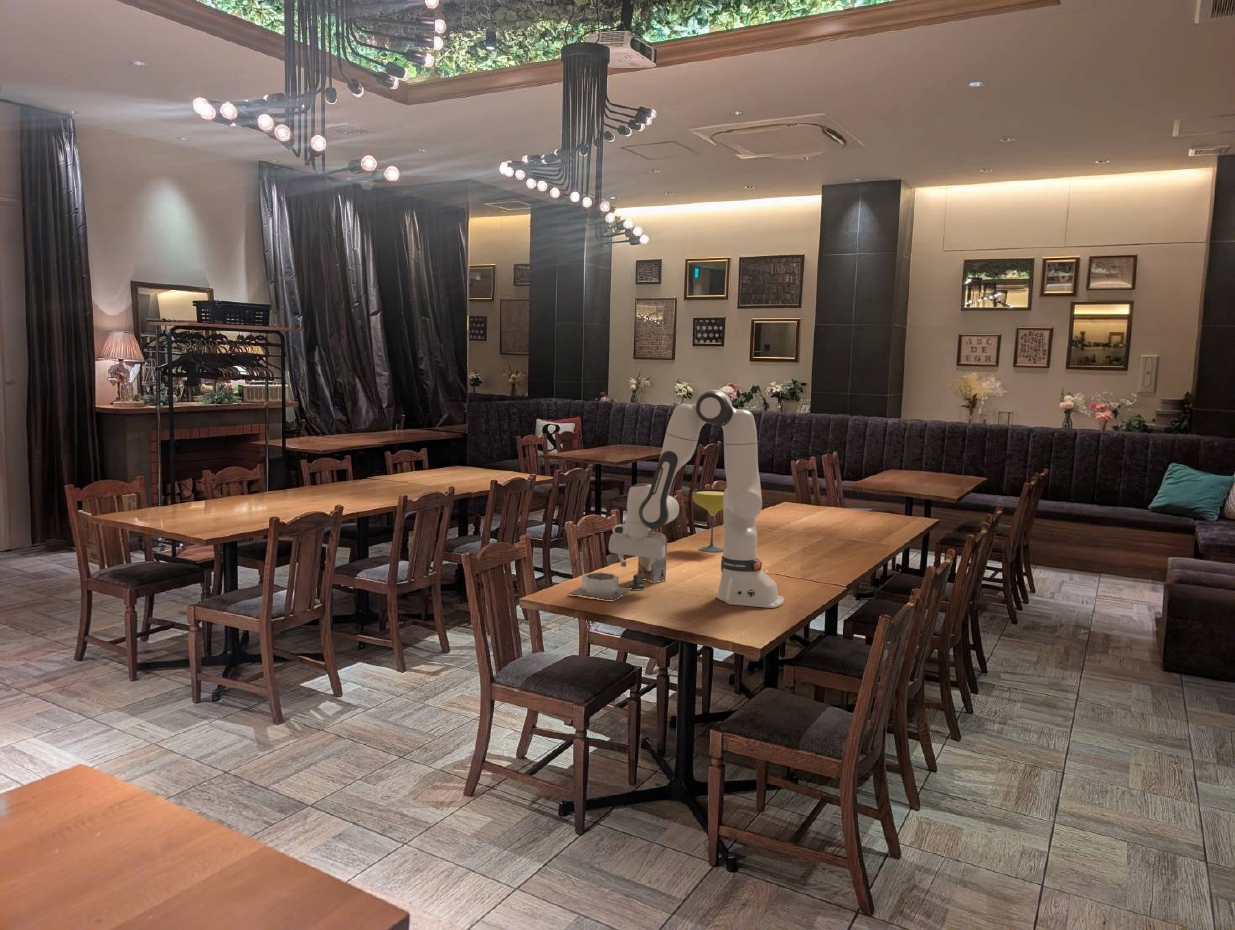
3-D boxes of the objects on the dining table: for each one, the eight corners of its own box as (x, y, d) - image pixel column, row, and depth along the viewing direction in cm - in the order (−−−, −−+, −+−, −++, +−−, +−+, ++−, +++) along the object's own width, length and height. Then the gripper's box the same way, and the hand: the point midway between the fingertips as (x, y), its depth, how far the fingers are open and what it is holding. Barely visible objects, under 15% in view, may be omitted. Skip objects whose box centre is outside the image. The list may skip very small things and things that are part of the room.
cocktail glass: (682, 546, 381) (684, 489, 378) (718, 544, 388) (720, 488, 386) (703, 555, 364) (706, 495, 362) (740, 552, 372) (743, 494, 369)
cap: (648, 587, 308) (648, 573, 307) (642, 591, 302) (642, 577, 302) (632, 585, 310) (633, 571, 309) (626, 589, 305) (626, 575, 304)
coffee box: (636, 578, 320) (638, 535, 319) (649, 576, 324) (650, 533, 323) (653, 583, 313) (655, 539, 312) (666, 581, 318) (668, 537, 316)
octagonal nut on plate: (630, 591, 301) (631, 574, 300) (612, 602, 286) (612, 584, 285) (588, 585, 307) (589, 569, 306) (568, 596, 292) (568, 578, 292)
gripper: (669, 531, 303) (666, 571, 304) (615, 524, 311) (612, 562, 312) (663, 534, 297) (660, 574, 299) (608, 527, 305) (605, 566, 306)
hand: (635, 568), depth 305 cm, fingers open, 8 cm apart
